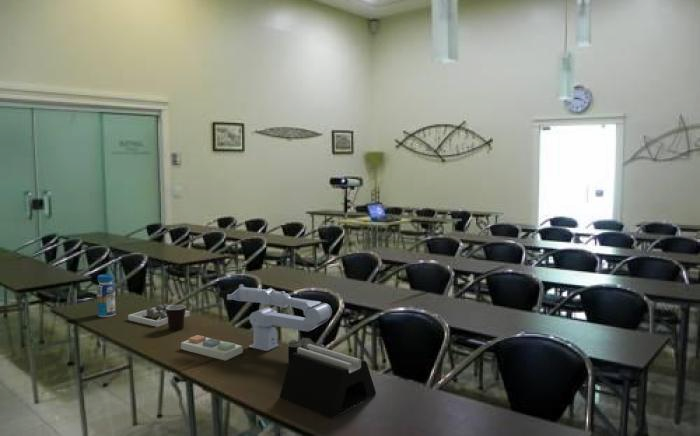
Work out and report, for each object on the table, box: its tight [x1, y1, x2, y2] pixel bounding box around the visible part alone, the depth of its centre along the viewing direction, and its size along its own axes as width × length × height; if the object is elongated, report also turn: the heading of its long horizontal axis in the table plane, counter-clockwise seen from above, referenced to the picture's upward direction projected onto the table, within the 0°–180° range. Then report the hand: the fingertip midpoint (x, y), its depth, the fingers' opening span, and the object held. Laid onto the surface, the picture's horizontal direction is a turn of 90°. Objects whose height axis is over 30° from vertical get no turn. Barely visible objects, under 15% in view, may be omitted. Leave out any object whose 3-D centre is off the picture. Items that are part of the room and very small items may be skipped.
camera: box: [287, 337, 326, 365], centre depth 209 cm, size 15×7×10 cm, turn 74°
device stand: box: [279, 344, 377, 419], centre depth 180 cm, size 22×22×15 cm
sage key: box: [218, 341, 236, 351], centre depth 218 cm, size 5×5×2 cm
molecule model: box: [142, 303, 173, 321], centre depth 267 cm, size 15×9×11 cm
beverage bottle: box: [96, 273, 117, 318], centre depth 270 cm, size 8×8×20 cm
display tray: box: [127, 306, 191, 328], centre depth 266 cm, size 20×20×2 cm
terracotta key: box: [188, 334, 207, 344], centre depth 226 cm, size 5×5×2 cm
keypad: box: [180, 337, 244, 361], centre depth 222 cm, size 24×10×3 cm, turn 60°
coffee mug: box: [165, 304, 187, 332], centre depth 251 cm, size 12×9×10 cm
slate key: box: [203, 337, 221, 347], centre depth 222 cm, size 5×5×2 cm
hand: (225, 292), depth 235 cm, fingers open, 7 cm apart
